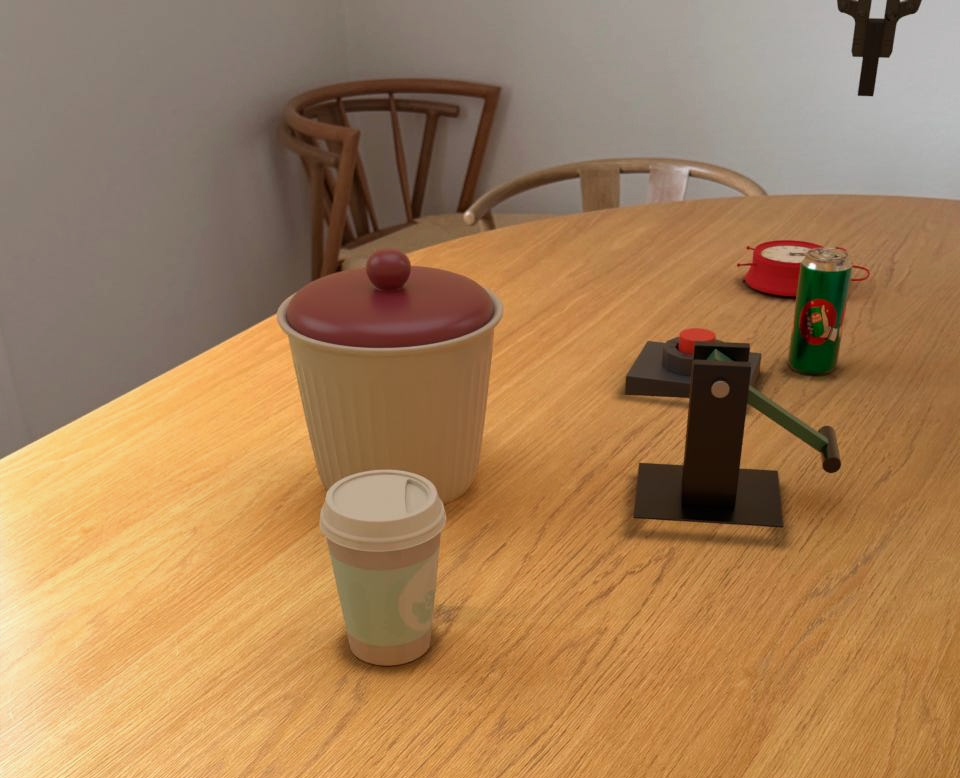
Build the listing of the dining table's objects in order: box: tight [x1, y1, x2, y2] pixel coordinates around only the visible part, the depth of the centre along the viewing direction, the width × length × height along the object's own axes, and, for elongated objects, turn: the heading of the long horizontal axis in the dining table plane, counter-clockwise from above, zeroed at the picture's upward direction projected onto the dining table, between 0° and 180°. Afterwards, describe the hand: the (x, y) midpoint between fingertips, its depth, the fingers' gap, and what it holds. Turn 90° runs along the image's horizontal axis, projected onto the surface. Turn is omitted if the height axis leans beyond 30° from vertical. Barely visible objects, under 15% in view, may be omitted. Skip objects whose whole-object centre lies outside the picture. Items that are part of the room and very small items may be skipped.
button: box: [678, 327, 717, 355], centre depth 126 cm, size 4×4×2 cm
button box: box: [624, 336, 762, 399], centre depth 127 cm, size 12×10×4 cm
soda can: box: [787, 247, 854, 376], centre depth 128 cm, size 5×5×12 cm
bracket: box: [633, 341, 784, 528], centre depth 103 cm, size 12×10×14 cm
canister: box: [276, 247, 504, 506], centre depth 104 cm, size 18×18×21 cm
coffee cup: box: [318, 470, 447, 667], centre depth 87 cm, size 8×8×12 cm
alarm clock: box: [736, 239, 871, 297], centre depth 152 cm, size 10×6×15 cm
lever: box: [707, 349, 842, 474], centre depth 101 cm, size 13×6×2 cm
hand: (865, 93), depth 123 cm, fingers closed
